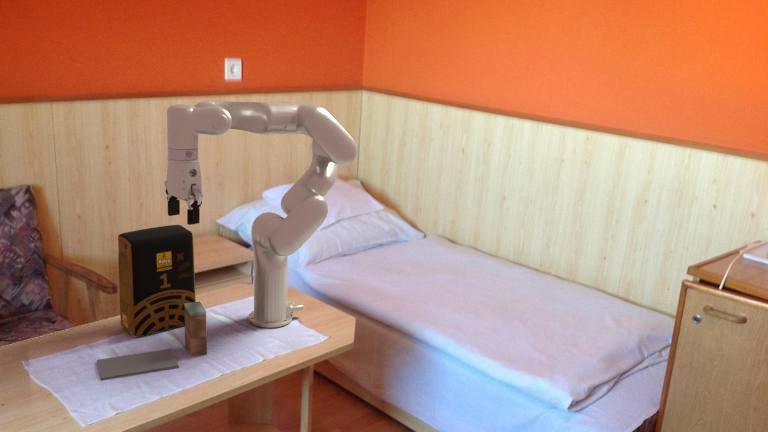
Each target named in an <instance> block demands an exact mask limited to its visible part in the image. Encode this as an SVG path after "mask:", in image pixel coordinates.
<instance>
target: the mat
mask: <svg viewBox="0 0 768 432" xmlns="http://www.w3.org/2000/svg"><path fill="white" fill-rule="evenodd" d="M96 363H97V369H98V373H99V377H100V381H105V380H112V379H118V378H122V377H130V376H135V375H142V374H148V373H154V372H155V373H156V372H159V371H166V370H173V369H177V368H179V365H180V364H179V363H178V361H177V359H176V356H175V354H174V352H173V349H172V348H171V347H170V348H165V349H159V350H152V351H146V352H140V353H139V352H138V353H132V354H126V355H125V354H124V355H118V356H114V357H106V358H105V357H104V358H101V359H96Z"/></svg>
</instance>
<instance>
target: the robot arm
mask: <svg viewBox="0 0 768 432" xmlns="http://www.w3.org/2000/svg"><path fill="white" fill-rule="evenodd" d="M166 128H167V129H166V134H167V140H166V141H167V143H166V144H167V146H166V148H167V170H166V180H165V181H164V183H163V184H164V188H165V193H166V201H167V215H168V216H169V217H172V216H177V215H180V214H181V211H180V210H181V209H180V208H181V207H180V205H181V203H180V201H181V200H182V201H184V202H186V204H187V207H188V209H187V208H186V212H187V213H186V214H187V215H186V218H187V221H186V223H187V225H189V226H190V225H191V226H192V225H197V224H200V222H201V221H200V218H201V217H200V209H202V206H201V205H202V203H203V199H204V194H203V189H202V188H203V187H202V182H203V181H202V173H201V165H200V161H199V135H208V136H221V135H224V134H225V133H227V132H228V131H229V130H236V131H237V130H239V131H245V132H248V133H249V132H250V133H253V134H259V135H305V136H307V137H310V138H311V150H312V154H311V155H312V157H311V162H310V165H309V167H308V169H306V171H305V172H304V173H303V174H302V176H301V177H299V179H298V180H296V182H295V183H294V184H293V185H292V186H291V187H290V188H289V189H288V190H287V191H286V192H285V193H284V195H283V196H282V198H281V200H280V208H281V210H282V212H283V213H284V214H285V215H286V216H285V217H283V216H281V215H280V214H278V213H276V212H272V211H271V212H270V211H268V212H263V213H261V214H259V215H257V216H256V217H255V219H254V220H253V222H252V225H251V230H250V232H251V233H250V234H251V236H250V237H251V242H252V250H253V310H252V311H251V312H249V314H248V316H247V318H248V322H249V323H250V324H251V325H253V326H255V327H259V328H265V329H266V328H267V329H268V328H269V329H273V328H280V327H284V326H286V325H288V324H290V323H291V322H292V320H293V314H294V312H295V313H296V312H303V311H304V305H303V304H301V303H300V304H297V302H291V303H289V302H288V285H289V284H288V277H289V271H288V270H289V256H291V255H293V254H295V253H296V252H298V251H299V250H300V249H301V248H302V247H303V245H305V243H307V242H308V241H309V239H310V238H311V237H312V236H313V235H314V234H315V233H316V232H317V231H318V230H319V229H320V227H321V226H322V225H323V224H324V223H325V221H326V219H327V216H328V211H329V205H328V202H327V200H326V199H325V196H326V195H327V194H328V193H329V191H330V190H331V189H332V187H333V186H334V185H335V183H336V181H337V178H338V177H337V176H338V171H339V166H347V165H349V164H351V163H352V162H353V161H354V160H355V159H356V157H357V153H358V147H357V144H356V141H355V139H354V138H353V137H352V136H351V135H350V134H349V132H348V131H347V130H346V129H345V128H344V127H343V126H342V125H341V124H340V123H339V121H337V120H336V118H335V117H333V116H332V114H331V113H330V112H329V111H328V110H326V109H325V108H324V107H322V106H319V105H315V104H311V103H309V102H308V103H307V102H266V101H265V102H263V101H261V102H260V101H232V100H231V101H229V100H203V101H200V102H198V103H195V105H191V104H172V105H170V106H169V107H168V108H167V110H166Z"/></svg>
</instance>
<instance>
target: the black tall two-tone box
mask: <svg viewBox="0 0 768 432" xmlns="http://www.w3.org/2000/svg"><path fill="white" fill-rule="evenodd" d="M117 242H118V249H117V250H118V251H117V252H118V255H117V256H118V260H117V263H118V283H119V284H118V285H119V287H118V288H119V315H120V317H119V318H120V325H121V326H122V328H123V329H124V330H125V331H126V332H128V334H130V335H131V336H133V337H134V338H139V337H144V336H149V335H152V334H153V335H154V334H157V333H161V332H165V331H169V330H173V329H177V328H180V327H185V312H184V303H192V302H197V301H196V280H195V279H196V278H195V254H194V253H195V250H194V235H193V233H192V231H190V230H189V229H187V228H186V227H184V226H183V225H181V224H171V225H162V226H155V227H149V228H143V229H136V230H131V231H126V232H122V233H120V234H118V236H117Z"/></svg>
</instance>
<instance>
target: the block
mask: <svg viewBox="0 0 768 432" xmlns="http://www.w3.org/2000/svg"><path fill="white" fill-rule="evenodd" d="M184 312H185V325H184V340H185V341H184V342H185V348H186V350H187V352H188V354H189V356H190V357H191V358H196V357H201V356H207V355H208V352H207V351H208V349H207V348H208V346H207V345H208V344H207V343H208V341H207V310H206V309H205V307H204V306H203V304H202V303H201V301H200V300H199V301H196V302H192V303H184Z"/></svg>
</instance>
